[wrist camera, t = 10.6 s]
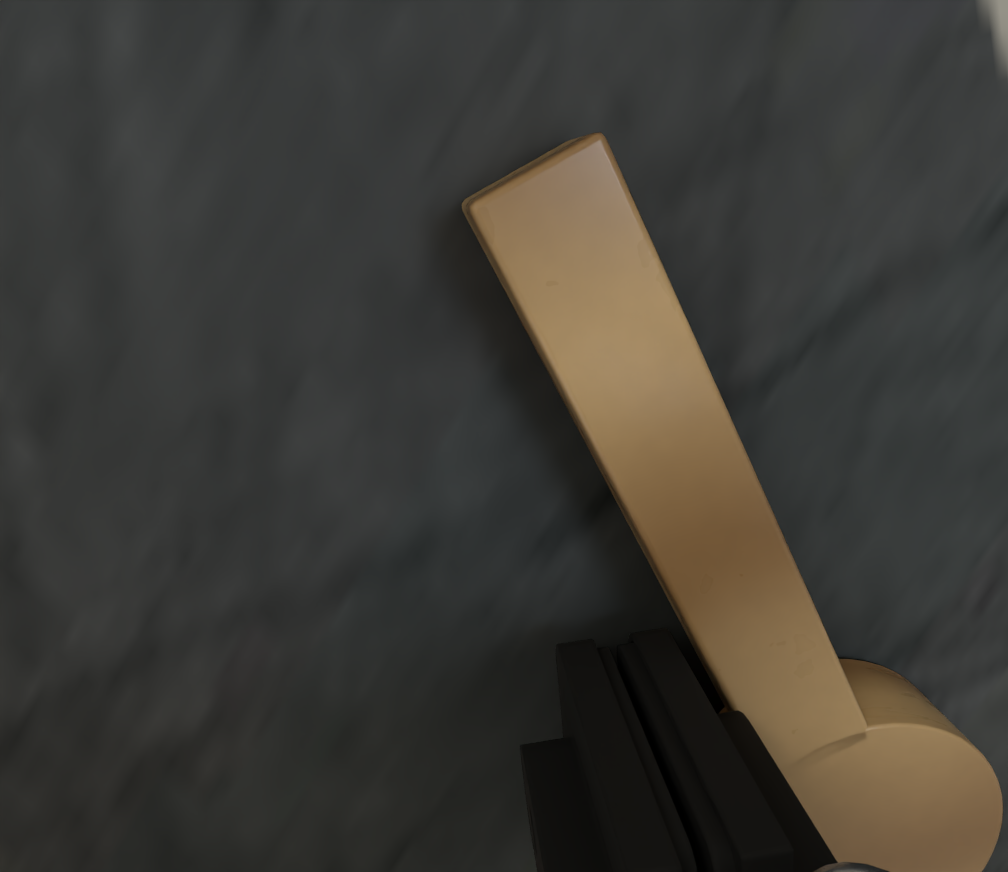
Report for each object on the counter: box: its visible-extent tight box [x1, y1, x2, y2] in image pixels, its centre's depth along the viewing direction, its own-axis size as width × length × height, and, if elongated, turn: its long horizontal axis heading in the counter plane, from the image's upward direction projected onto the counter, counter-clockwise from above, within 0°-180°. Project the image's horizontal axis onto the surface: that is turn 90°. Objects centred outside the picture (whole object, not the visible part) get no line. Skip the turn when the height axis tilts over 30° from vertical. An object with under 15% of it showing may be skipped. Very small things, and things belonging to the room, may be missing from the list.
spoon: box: [462, 132, 1003, 872], centre depth 11 cm, size 13×4×2 cm, turn 28°
